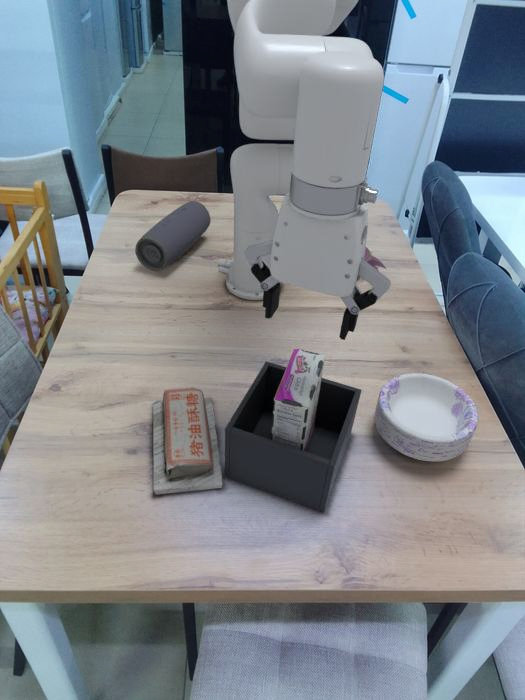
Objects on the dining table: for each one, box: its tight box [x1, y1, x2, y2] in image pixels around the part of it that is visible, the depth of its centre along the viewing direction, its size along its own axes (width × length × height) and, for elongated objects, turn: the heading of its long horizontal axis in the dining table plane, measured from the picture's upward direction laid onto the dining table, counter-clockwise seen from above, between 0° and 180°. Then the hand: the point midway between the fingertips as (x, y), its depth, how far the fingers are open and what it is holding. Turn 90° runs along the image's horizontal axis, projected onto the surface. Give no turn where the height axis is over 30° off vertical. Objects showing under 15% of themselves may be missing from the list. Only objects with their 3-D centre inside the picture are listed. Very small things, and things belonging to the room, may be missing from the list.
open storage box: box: [224, 360, 362, 513], centre depth 76 cm, size 16×16×11 cm
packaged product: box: [152, 387, 223, 496], centre depth 78 cm, size 18×5×10 cm
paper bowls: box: [374, 372, 479, 462], centre depth 81 cm, size 15×15×8 cm
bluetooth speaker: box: [134, 200, 212, 272], centre depth 123 cm, size 23×9×10 cm, turn 159°
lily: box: [364, 246, 387, 272], centre depth 121 cm, size 12×12×10 cm
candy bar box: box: [271, 348, 326, 452], centre depth 74 cm, size 11×5×16 cm, turn 163°
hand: (307, 322), depth 63 cm, fingers open, 9 cm apart
